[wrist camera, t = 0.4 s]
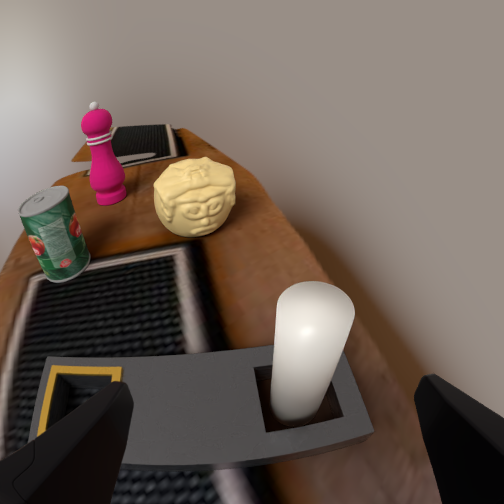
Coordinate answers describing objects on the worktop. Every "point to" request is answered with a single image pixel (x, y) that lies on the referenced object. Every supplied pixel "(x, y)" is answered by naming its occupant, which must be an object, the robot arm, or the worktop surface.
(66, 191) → the canned tomato
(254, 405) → the grey board with holes
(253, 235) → the worktop surface
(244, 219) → the worktop surface
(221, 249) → the worktop surface
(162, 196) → the sculpture
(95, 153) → the pepper mill
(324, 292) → the peg
